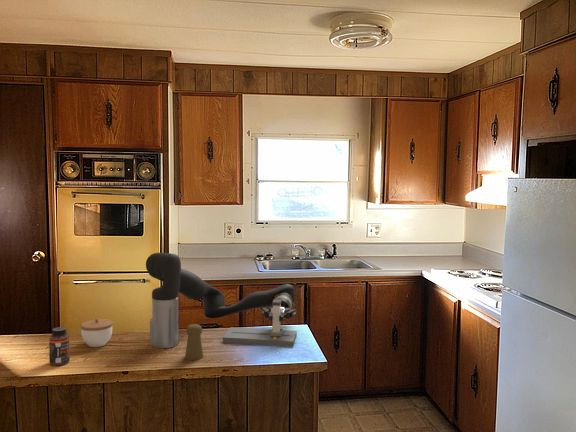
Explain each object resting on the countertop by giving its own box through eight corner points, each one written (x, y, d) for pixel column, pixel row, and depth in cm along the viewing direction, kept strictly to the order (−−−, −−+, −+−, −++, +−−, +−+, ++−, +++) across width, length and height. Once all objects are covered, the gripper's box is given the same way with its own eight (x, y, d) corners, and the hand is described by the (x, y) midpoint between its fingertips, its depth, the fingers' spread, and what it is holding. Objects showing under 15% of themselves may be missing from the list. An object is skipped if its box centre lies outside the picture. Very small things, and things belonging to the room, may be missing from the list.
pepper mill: (199, 361, 158) (199, 328, 157) (182, 359, 160) (182, 327, 159) (206, 354, 164) (206, 323, 163) (189, 352, 165) (189, 321, 165)
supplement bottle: (62, 367, 152) (62, 332, 151) (45, 365, 152) (44, 331, 151) (73, 360, 157) (72, 326, 157) (56, 358, 158) (55, 325, 157)
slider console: (222, 342, 176) (222, 336, 176) (230, 332, 188) (230, 326, 188) (293, 346, 173) (293, 340, 173) (296, 335, 185) (296, 330, 185)
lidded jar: (114, 338, 179) (113, 313, 178) (111, 348, 169) (111, 322, 168) (83, 340, 176) (82, 315, 175) (78, 350, 166) (78, 324, 165)
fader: (270, 335, 177) (270, 302, 176) (272, 331, 182) (272, 298, 181) (280, 336, 177) (281, 302, 176) (282, 331, 182) (283, 299, 181)
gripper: (298, 316, 193) (294, 329, 175) (264, 314, 194) (256, 327, 177) (299, 298, 192) (294, 309, 175) (264, 296, 194) (256, 308, 177)
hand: (275, 318), depth 176 cm, fingers open, 3 cm apart
